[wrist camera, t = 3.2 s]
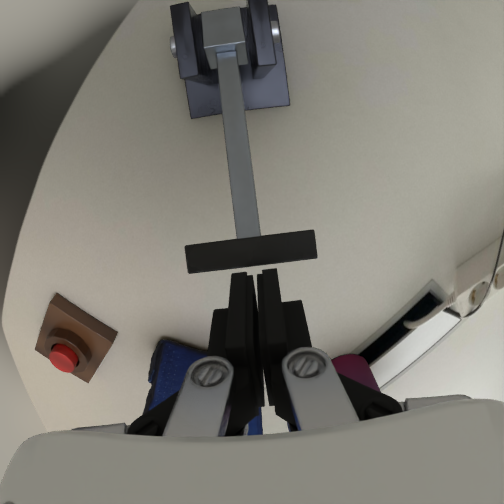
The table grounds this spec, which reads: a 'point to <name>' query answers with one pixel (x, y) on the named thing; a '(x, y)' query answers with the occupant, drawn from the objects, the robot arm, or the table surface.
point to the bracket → (252, 74)
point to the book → (178, 376)
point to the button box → (75, 336)
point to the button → (63, 358)
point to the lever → (239, 163)
